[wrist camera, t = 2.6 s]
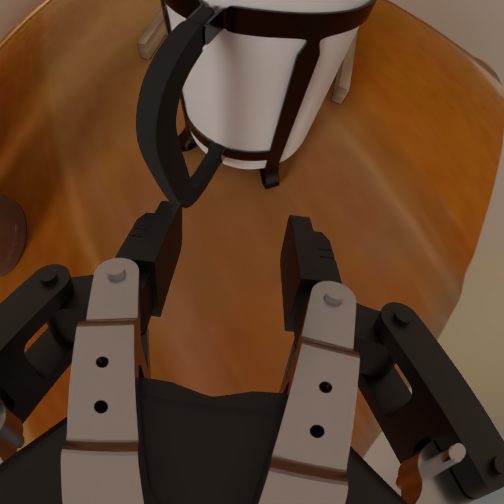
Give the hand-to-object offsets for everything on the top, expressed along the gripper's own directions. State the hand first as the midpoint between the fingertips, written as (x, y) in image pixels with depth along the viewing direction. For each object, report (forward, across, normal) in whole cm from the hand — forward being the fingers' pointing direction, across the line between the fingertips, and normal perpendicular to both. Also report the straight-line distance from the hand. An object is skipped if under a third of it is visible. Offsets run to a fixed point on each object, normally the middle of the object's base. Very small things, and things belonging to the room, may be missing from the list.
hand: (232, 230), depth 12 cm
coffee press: (+23, 0, +3) cm, 23 cm away
